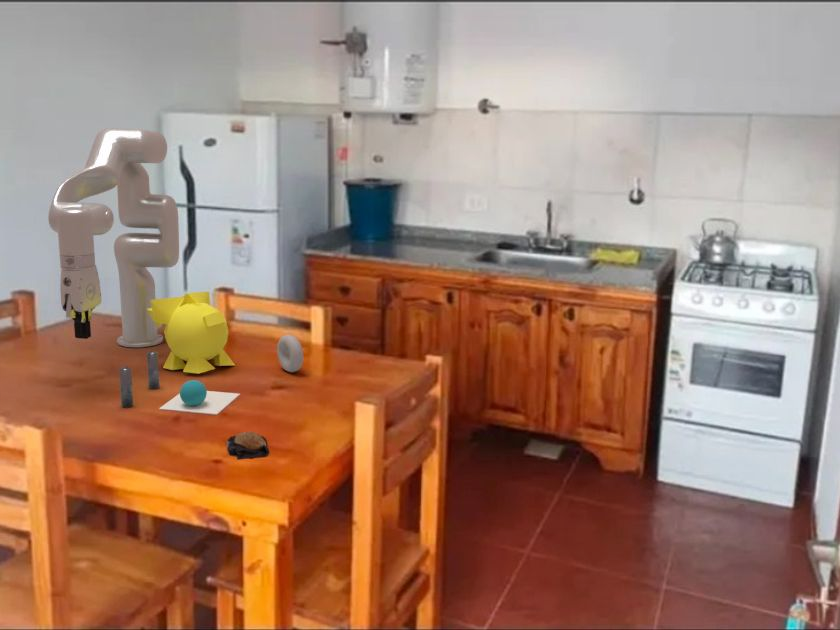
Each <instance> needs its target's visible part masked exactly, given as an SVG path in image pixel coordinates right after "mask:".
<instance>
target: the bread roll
mask: <svg viewBox="0 0 840 630" xmlns="http://www.w3.org/2000/svg"><path fill="white" fill-rule="evenodd" d="M267 441H268V440H267V438H266V437H264V436H262V435H260V434H259V433H258V432H256V431H246V432H240V433H238V434H236V435H233V436H230V437H229V439H227V440H226V441H225V444H226V447H227V451H228V453H229V454H230V456H231V457H233V458H236V459H237V460H246V459H249V460H250V459H259V458H260V459H261V458H264V457H267V456H268V455H270V452H271V451H270V450H269V447H268V442H267Z"/></svg>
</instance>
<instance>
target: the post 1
mask: <svg viewBox="0 0 840 630" xmlns="http://www.w3.org/2000/svg"><path fill="white" fill-rule="evenodd" d="M118 370H119V386H120V402H121V403H120V405H121V406H120V407H122V408H125V409H127V408H132V407H133V406H134V393H133V392H134V391H133V373H132V366H122V367H119V369H118Z"/></svg>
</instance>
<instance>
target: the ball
mask: <svg viewBox="0 0 840 630" xmlns="http://www.w3.org/2000/svg"><path fill="white" fill-rule="evenodd" d="M207 391H208V390H207V388H206V386H205V384H204V383H202V382H201V381H199V380H196V379H192V380H187V381H186V382H184V383H183V384H182V386H181V387H180V391H179V393H180V397H181V400H182V401H183V402H184V403H185V404H187V405H189V406H197V405H199V404H201V403H202V402H203V401H204V400H205V398H206V395H207Z"/></svg>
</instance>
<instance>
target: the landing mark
mask: <svg viewBox="0 0 840 630" xmlns="http://www.w3.org/2000/svg"><path fill="white" fill-rule="evenodd" d="M206 391H207V395H206V398H205V400H204V401H203V402H202V403H201V404H199V405H197V406H189V405H187V404H185V403H184V402H183V401H182V400H181V397H180V392H179V393H177V394H176V395H175V396H174V397H173V398H172V399H169V401H167V402H166V403H165V404H163V405H162V406H160V407H159V408H158V410H161V411H163V410H164V411H170V412H171V411H172V412H183V413H192V414H193V413H194V414H202V415H203V414H205V415H214V416H215V415H216V416H217V415H218V414H220V413H221V412H222V411H223V410H224V409H226V408H227V407H228V406H229V405H230V404H231V403H232V402H233V401H235V400H236V399H237V398H238V397H239V396H240V395H241V393H236V392H226V391H225V392H223V391H212V390H211V391H210V390H206Z"/></svg>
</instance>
